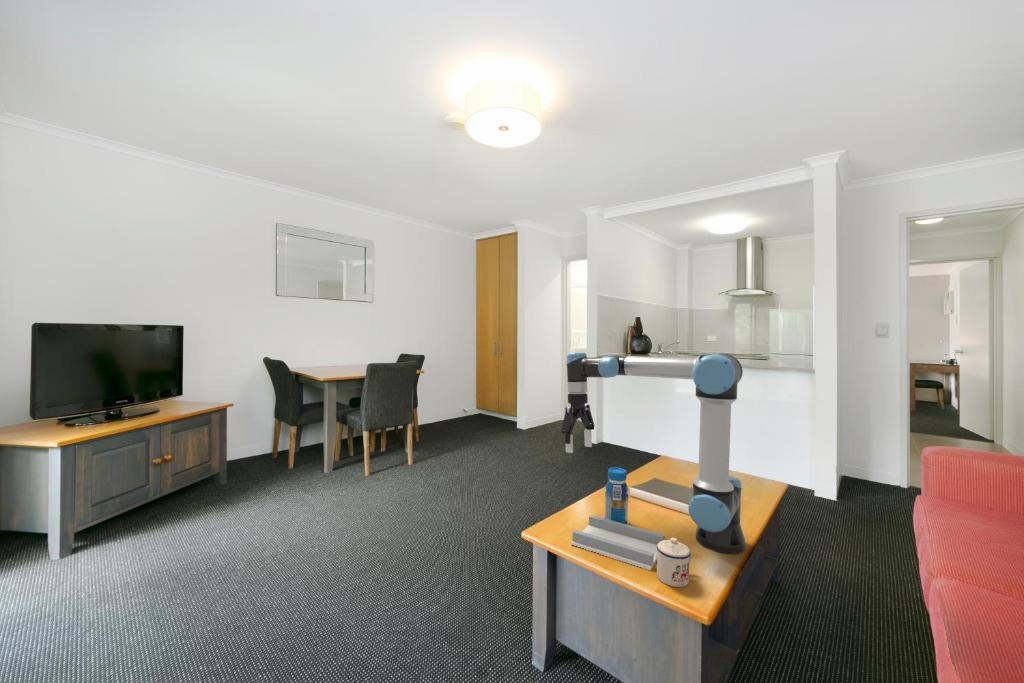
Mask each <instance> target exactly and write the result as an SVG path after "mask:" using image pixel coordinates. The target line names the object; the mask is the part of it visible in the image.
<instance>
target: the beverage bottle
mask: <svg viewBox="0 0 1024 683" xmlns="http://www.w3.org/2000/svg"><path fill="white" fill-rule="evenodd" d="M627 473H628V472H627V470H626V469H624V468H621V467H610V468H608V470H607V479H608V481H607V482H606V484H605V490H606V491H605V493H604V497H605V500H604V501H605V502H604V503H605V504H604V505H605V506H604V518H605V519H608V520H612V521H616V522H619V523H623V524H627V525H628V514H629V512H628V509H629V507H628V506H629V494H628V492H629V487H628V484H627V483H626V481H627V477H628V476H627V475H628V474H627Z"/></svg>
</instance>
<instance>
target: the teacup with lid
mask: <svg viewBox="0 0 1024 683" xmlns="http://www.w3.org/2000/svg"><path fill="white" fill-rule="evenodd" d="M657 550H658V553H657V561H656V562H657V563H656V576H657V579H658V580H659V581H660V582H662V583H663V584H665V585H667V586H671V587H675V588H681V587H682V588H683V587H686V586H687V585H688V584H689V580H690V563H691V561H692V552H691V550H690V548H689V547H688V546H687V545H686V544H684V543H682V542H679V541H678V539H677V538H675V537H670V539H665V540H663V541H660V542H659V543H658V545H657Z"/></svg>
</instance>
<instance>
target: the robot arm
mask: <svg viewBox="0 0 1024 683" xmlns="http://www.w3.org/2000/svg"><path fill="white" fill-rule="evenodd" d="M565 366H566V371H567V372H566V374H567V375H566V376H567V377H566V378H567V403H568V404H570V406H565V408H564V409H565V411H564V412H565V414H564V418H563V420H562V425H561V429H560V430H561V431H560V432H561V434H562V435H564V443H565V453H568V454H569V453H570V454H573V453H574V443H573V442H574V439H573V438H574V436H573V434H572V433H573V430H574V427H575V424H576V422H577V421H578V420H579V419H580V421H581V422H582V425H583V426H584V428H585V429H584V432H583V433H584V447H587V448H592V447H593V442H592V440H593V438H592V431H594V430H595V427H596V426H595V422H594V419H593V415H592V413H591V412H592V411H591V405H590V404H589V403H588V401H589V400H588V399H589V396H588V394H587V393H588V378H604V379H607V378H609V379H610V378H615V377H617V376H629V377H631V376H632V377H644V378H645V377H647V378H661V379H679V380H693V383H694V385H695V397H696V399H698V401H699V402H700V407H699V408H700V414H699V415H700V416H699V438H698V440H699V441H698V442H699V443H698V444H699V447H698V469H697V470H698V472H697V473H698V475H697V477H695V478H694V479H693V480H692V493H691V497H692V498H690V500H689V503H688V514H689V517H690V519H691V520H692V521H693V522H694V523H695V525H697V527H696V529H695V540H696V541H697V543H699V544H700V545H701V546H703V547H704V548H706V549H709V550H711V551H714V552H719V553H723V554H727V555H729V554H732V555H735V554H740V552H741V553H743V552H744V551H745V550H746V538H745V535H744V532H743V529H742V525H741V504H742V500H741V499H742V489H743V488H742V481H741V480H740V479H739V478H738V477H735V476H732V475H730V455H731V454H730V452H731V451H730V445H731V419H732V417H731V415H732V404H733V403H734V402H736V401H737V400H738V384H739V382H740V381H741V379H742V377H743V374H744V373H743V372H744V370H743V367H742V364H741V362H740V361H739V359H738V358H736V357H735V356H733V355H732V354H729V353H725V352H724V353H723V352H722V353H721V352H720V353H710V354H708V355H705V354H703V355H702V354H699V355H698V356H697V357H671V356H670V357H669V356H668V357H665V356H637V355H636V356H633V355H626V356H625V355H609V356H608V355H607V356H598V357H594V356H593V357H588V356H587V354H586V353H585V352H569V353H568V354H567V355H566V364H565Z"/></svg>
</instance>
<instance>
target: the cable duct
mask: <svg viewBox="0 0 1024 683" xmlns="http://www.w3.org/2000/svg"><path fill="white" fill-rule="evenodd" d="M665 538H666V537H665V534H663V533H660V532H656V531H653V530H649V529H645V528H641V527H638V526H633V525H629V524H628V523H627V524H623V523H619V522H616V521H612V520H608V519H605V517H600V516H598V515H597V516H596V515H593V514H590V515H589V516H588V525H587V526H586V527H585V528H584V529H583V530H582V531H581V530H578V529H574V530H573V531H572V540H571V542H570V545H571V544H572V545H575V546H578V547H581V548H580V549H582V548H584V549H583V550H585V549H586V550H585V551H588V550H589V551H588V552H591V551H593V552H592V553H594V552H596V553H595V554H597V553H599V554H598V555H600V554H602V555H601V556H603V555H604V556H603V557H606V556H607V557H606V558H609V557H610V558H609V559H612V558H613V560H615V559H617V560H616V561H619V560H620V561H619V562H622V561H623V563H625V562H626V563H625V564H628V563H629V564H628V565H631V564H632V565H631V566H634V565H635V567H637V566H638V568H640V567H641V568H640V569H644V570H647V571H649V570H650V572H651V571H652V569H653V567H654V566H655V564H656V562H657V553H658V550H657V545H658V543H659V542H660V541H663V540H666V539H665ZM572 545H571V546H572ZM575 546H574V547H575ZM578 547H577V548H578Z"/></svg>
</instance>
